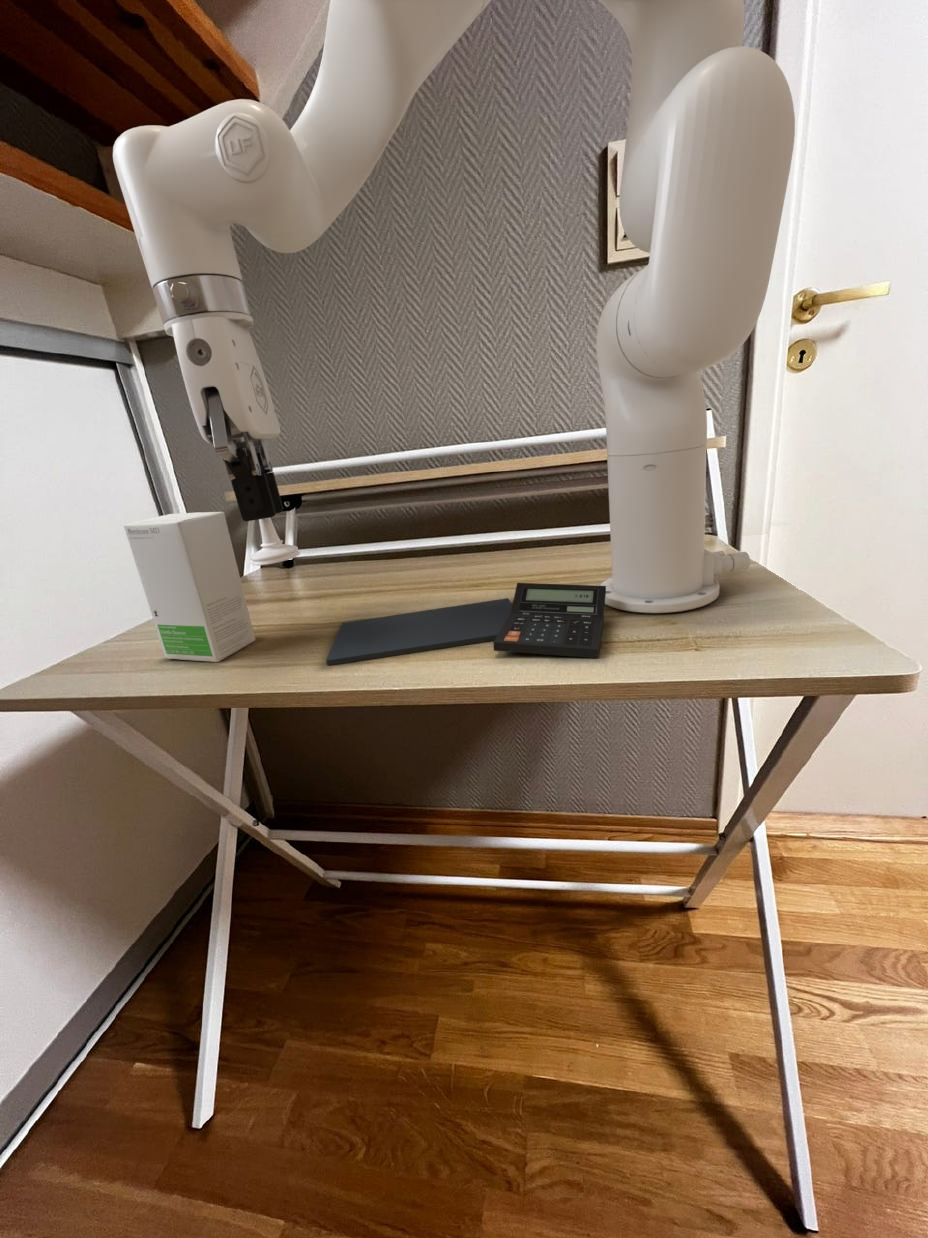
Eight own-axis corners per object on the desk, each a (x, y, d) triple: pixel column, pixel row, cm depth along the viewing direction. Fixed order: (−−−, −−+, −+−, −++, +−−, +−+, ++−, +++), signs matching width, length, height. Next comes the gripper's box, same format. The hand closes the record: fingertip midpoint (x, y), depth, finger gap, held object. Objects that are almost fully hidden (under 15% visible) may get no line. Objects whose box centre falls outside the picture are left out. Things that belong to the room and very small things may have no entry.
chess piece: (285, 562, 53) (255, 458, 49) (241, 567, 54) (210, 465, 50) (308, 550, 57) (283, 453, 54) (267, 555, 58) (240, 460, 55)
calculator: (493, 650, 50) (492, 620, 48) (518, 607, 60) (518, 581, 59) (597, 658, 47) (598, 626, 46) (605, 611, 57) (606, 584, 56)
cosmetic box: (164, 660, 61) (116, 525, 56) (208, 637, 67) (168, 513, 62) (220, 662, 58) (175, 520, 53) (261, 638, 64) (224, 507, 59)
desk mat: (508, 602, 64) (508, 597, 64) (524, 635, 54) (524, 630, 54) (343, 627, 64) (342, 622, 64) (327, 665, 53) (325, 660, 53)
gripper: (214, 281, 40) (281, 523, 47) (271, 321, 55) (316, 500, 62) (115, 297, 40) (195, 537, 46) (199, 333, 55) (251, 511, 61)
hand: (263, 515), depth 54 cm, fingers closed on chess piece
